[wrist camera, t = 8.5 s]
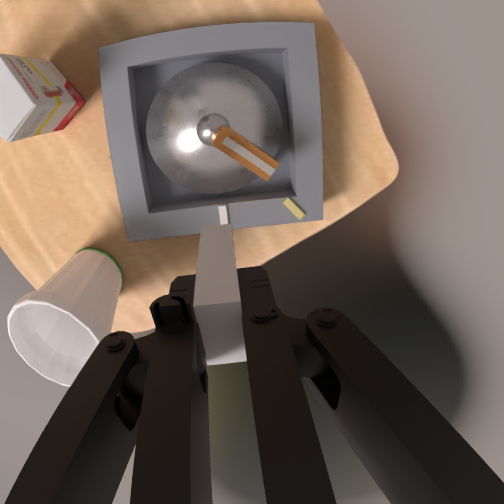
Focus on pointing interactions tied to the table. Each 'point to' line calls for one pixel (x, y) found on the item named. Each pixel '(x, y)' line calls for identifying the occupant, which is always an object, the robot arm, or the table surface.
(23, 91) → the ink box
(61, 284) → the cup
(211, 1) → the table surface
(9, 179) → the table surface
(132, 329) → the table surface
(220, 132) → the dial
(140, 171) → the housing
